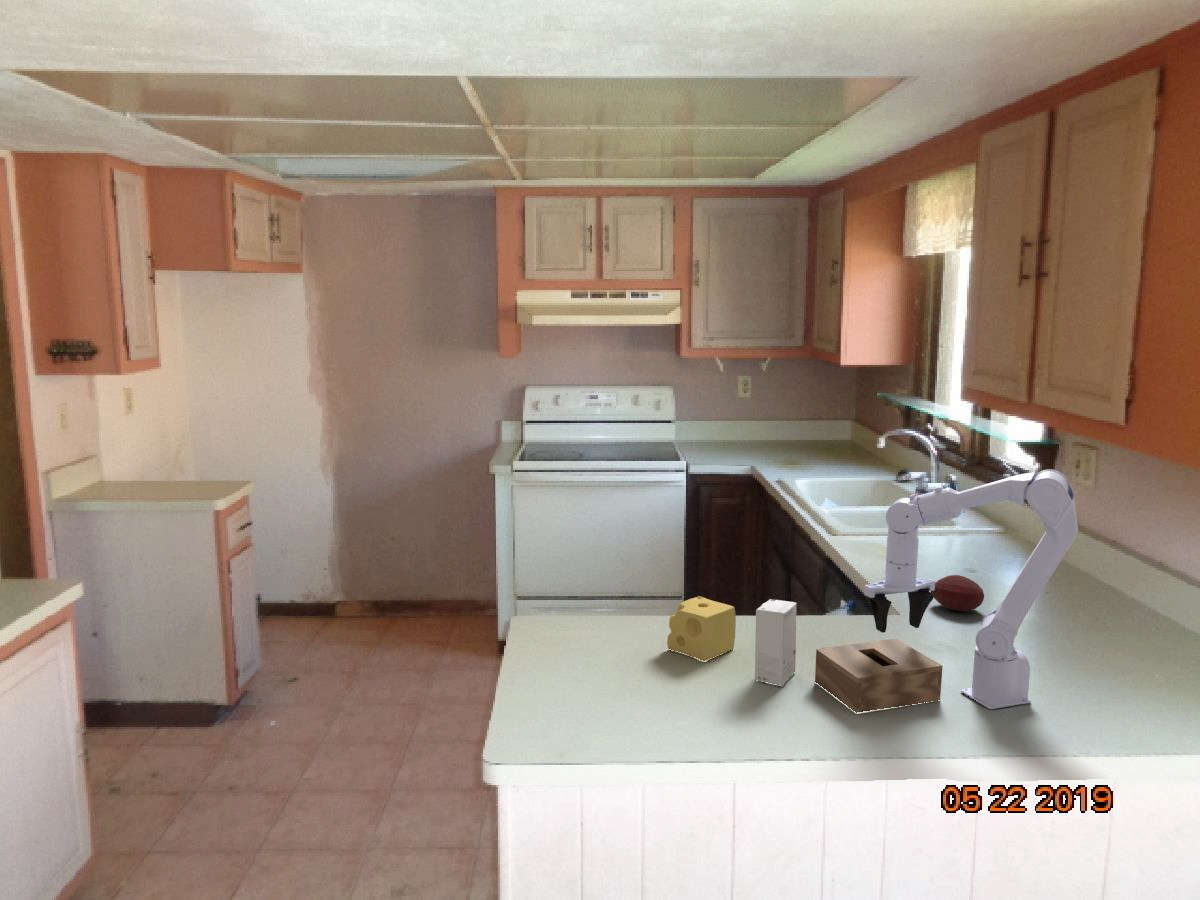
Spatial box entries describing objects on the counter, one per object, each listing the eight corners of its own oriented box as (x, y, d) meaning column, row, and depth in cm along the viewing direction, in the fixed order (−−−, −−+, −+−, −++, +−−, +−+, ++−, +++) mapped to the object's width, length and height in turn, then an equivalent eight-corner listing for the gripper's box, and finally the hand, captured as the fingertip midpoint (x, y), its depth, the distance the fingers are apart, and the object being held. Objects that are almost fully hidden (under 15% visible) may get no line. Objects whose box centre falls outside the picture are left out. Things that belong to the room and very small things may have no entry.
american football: (989, 619, 210) (992, 584, 209) (941, 618, 211) (943, 584, 209) (970, 602, 222) (973, 569, 220) (924, 602, 222) (926, 569, 221)
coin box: (894, 671, 181) (896, 638, 180) (940, 701, 168) (942, 665, 167) (814, 683, 176) (816, 649, 174) (856, 714, 162) (857, 678, 161)
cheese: (666, 650, 192) (667, 605, 190) (699, 637, 199) (699, 594, 198) (705, 664, 185) (706, 618, 183) (737, 650, 192) (738, 605, 190)
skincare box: (782, 688, 173) (785, 614, 171) (752, 681, 176) (754, 609, 174) (796, 672, 181) (798, 601, 178) (767, 666, 183) (769, 596, 181)
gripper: (920, 552, 179) (916, 617, 182) (856, 558, 175) (853, 625, 177) (943, 562, 173) (939, 629, 175) (878, 569, 168) (874, 638, 171)
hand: (897, 628), depth 176 cm, fingers open, 7 cm apart
